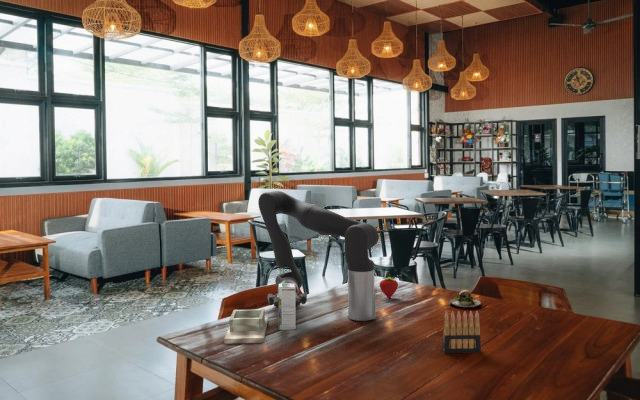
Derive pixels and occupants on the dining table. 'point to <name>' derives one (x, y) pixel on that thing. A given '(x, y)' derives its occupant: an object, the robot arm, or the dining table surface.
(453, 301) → the burger
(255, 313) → the stand
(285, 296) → the syrup box
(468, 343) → the ammunition clip
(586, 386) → the dining table surface
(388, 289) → the strawberry
